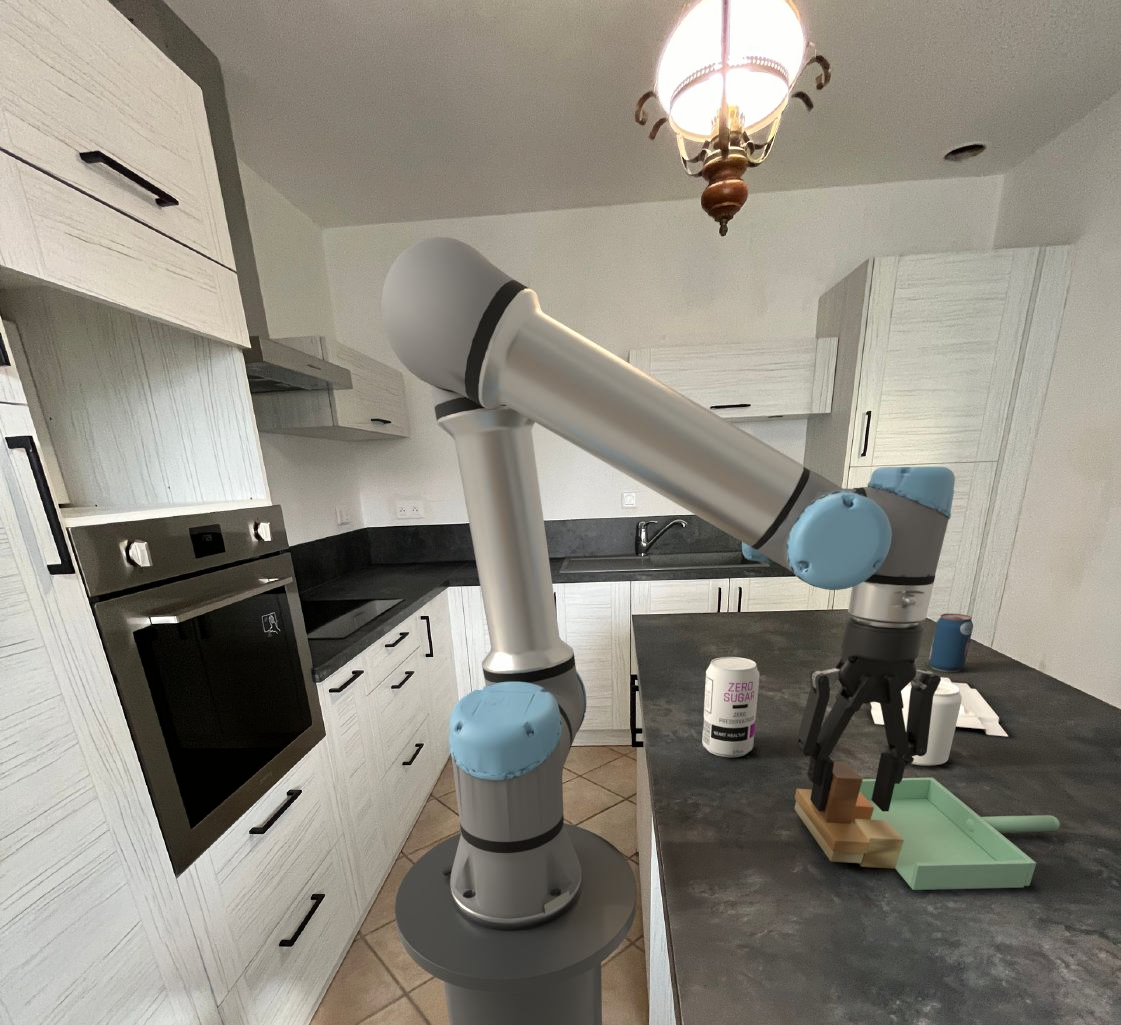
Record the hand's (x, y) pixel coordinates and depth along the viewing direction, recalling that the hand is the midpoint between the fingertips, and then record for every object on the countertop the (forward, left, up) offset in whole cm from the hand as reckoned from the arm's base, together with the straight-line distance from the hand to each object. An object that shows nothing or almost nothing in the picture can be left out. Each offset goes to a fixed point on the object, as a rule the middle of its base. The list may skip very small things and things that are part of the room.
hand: (848, 805), depth 71 cm
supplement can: (-7, +27, -5) cm, 29 cm away
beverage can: (+22, +22, -5) cm, 31 cm away
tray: (+36, +45, -5) cm, 58 cm away
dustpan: (+15, 0, -5) cm, 16 cm away
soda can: (+52, +65, -5) cm, 83 cm away
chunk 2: (+2, -4, -5) cm, 6 cm away
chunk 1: (+2, +3, -5) cm, 6 cm away
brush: (-2, 0, -4) cm, 5 cm away
